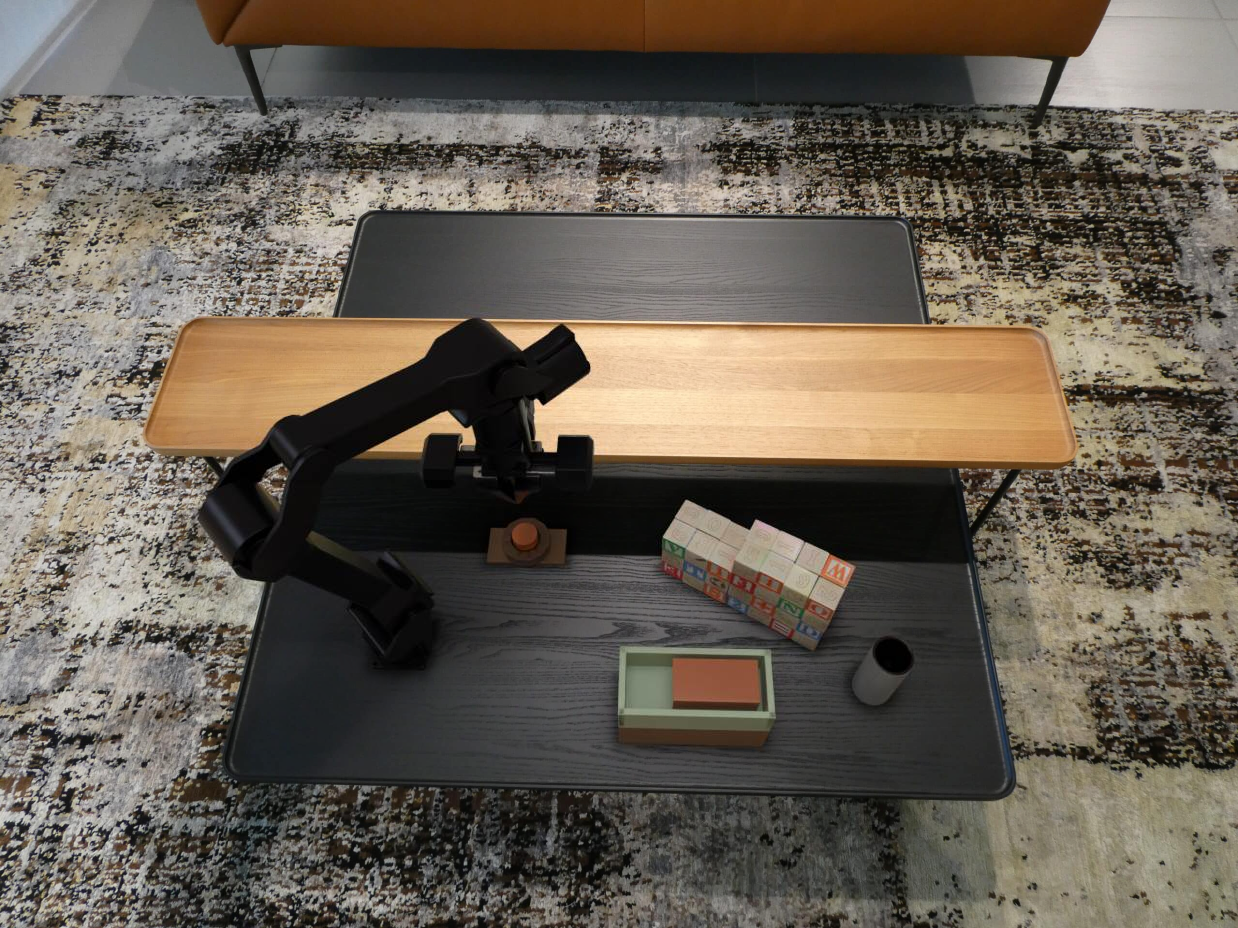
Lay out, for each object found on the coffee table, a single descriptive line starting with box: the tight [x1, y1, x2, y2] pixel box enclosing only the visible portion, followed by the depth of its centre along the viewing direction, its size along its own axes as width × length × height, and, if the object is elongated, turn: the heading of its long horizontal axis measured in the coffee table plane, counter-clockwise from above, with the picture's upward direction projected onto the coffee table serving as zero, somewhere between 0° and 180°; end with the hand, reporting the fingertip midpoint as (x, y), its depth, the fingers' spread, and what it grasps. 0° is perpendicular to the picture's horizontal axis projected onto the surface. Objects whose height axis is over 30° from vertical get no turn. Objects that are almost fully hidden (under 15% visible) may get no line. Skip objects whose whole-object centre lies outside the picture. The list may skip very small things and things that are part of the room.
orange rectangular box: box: [671, 658, 760, 711], centre depth 90 cm, size 5×5×9 cm
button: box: [512, 523, 538, 551], centre depth 107 cm, size 3×3×2 cm
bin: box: [617, 645, 777, 747], centre depth 93 cm, size 16×7×11 cm, turn 88°
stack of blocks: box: [660, 499, 856, 652], centre depth 100 cm, size 21×6×12 cm, turn 59°
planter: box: [851, 634, 916, 707], centre depth 94 cm, size 4×4×10 cm
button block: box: [486, 517, 568, 567], centre depth 108 cm, size 10×6×2 cm, turn 88°
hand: (517, 500), depth 99 cm, fingers closed
